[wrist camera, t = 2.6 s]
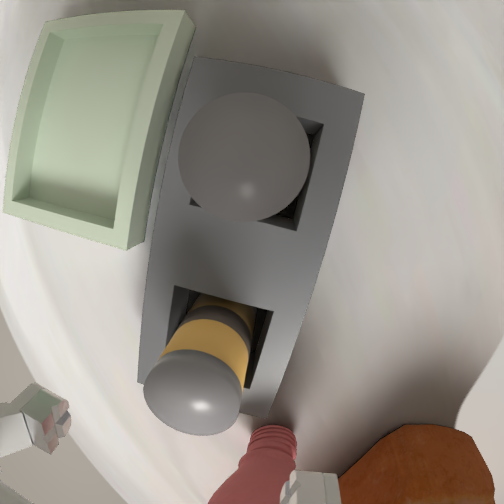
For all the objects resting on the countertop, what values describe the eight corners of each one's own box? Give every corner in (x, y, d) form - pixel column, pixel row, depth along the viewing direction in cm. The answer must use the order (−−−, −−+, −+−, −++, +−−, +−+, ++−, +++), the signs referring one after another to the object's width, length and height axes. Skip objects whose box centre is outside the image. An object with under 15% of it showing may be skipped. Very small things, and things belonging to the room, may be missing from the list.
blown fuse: (202, 274, 19) (145, 349, 10) (263, 290, 19) (250, 379, 10) (192, 327, 20) (141, 419, 11) (248, 342, 20) (228, 445, 11)
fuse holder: (211, 79, 16) (194, 56, 12) (346, 110, 16) (364, 93, 12) (158, 349, 21) (137, 382, 17) (269, 380, 21) (266, 418, 17)
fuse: (235, 126, 17) (195, 83, 8) (301, 142, 17) (323, 109, 8) (220, 190, 18) (166, 205, 9) (285, 206, 18) (291, 236, 9)
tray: (64, 31, 16) (45, 21, 13) (195, 27, 15) (185, 10, 13) (24, 207, 19) (2, 212, 17) (144, 241, 19) (126, 250, 17)
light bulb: (207, 434, 22) (172, 556, 11) (263, 387, 21) (246, 537, 9) (273, 468, 23) (266, 582, 11) (332, 428, 21) (350, 559, 10)
